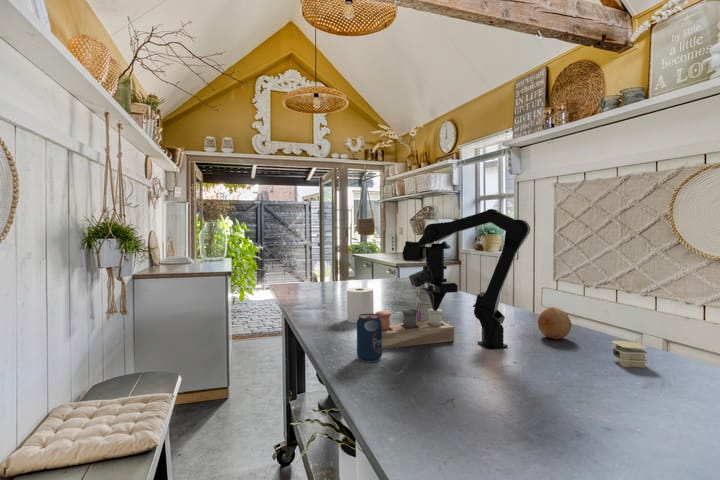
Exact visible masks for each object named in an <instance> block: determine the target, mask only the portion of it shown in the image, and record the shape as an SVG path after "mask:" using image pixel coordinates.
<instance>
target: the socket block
mask: <svg viewBox="0 0 720 480" xmlns="http://www.w3.org/2000/svg"><path fill="white" fill-rule="evenodd" d="M454 341H455V326H453V325H451V324H449V323H448V322H445V321H443V320H441V326H430V325H429V320H427V321H417V320H416V328H411V329H405V328H403V322H397V323H395V322H394V323H390V331H382V350H383V349H389V348H391V349H392V348H400V347H410V346H417V345H419V346H420V345H427V344H437V343H447V342H454Z"/></svg>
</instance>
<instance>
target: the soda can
mask: <svg viewBox="0 0 720 480" xmlns="http://www.w3.org/2000/svg"><path fill="white" fill-rule="evenodd" d="M379 317H380V316H379V315H378V314H375V313H373V314H361V315H359V318H358V320H357V323H356V356H357V358H359V360H360V361H361V362H363V363H365V362H366V363H374V362H378V361H380V359H381V357H382V356H383V349H382V322H381V320H380V318H379Z"/></svg>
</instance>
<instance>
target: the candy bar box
mask: <svg viewBox="0 0 720 480" xmlns="http://www.w3.org/2000/svg"><path fill="white" fill-rule="evenodd" d="M423 288H425V284H422V285H421V286H419V287H415V303H416V305H415V306H416V309H415V310H417V314H416V321H427V320H429V313H428V309H433V308H432V304H431V301H430V298H429V295H428V293H427V292H426V291H425V290H423Z"/></svg>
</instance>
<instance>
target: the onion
mask: <svg viewBox="0 0 720 480" xmlns="http://www.w3.org/2000/svg"><path fill="white" fill-rule="evenodd" d="M572 325H573V324H572V321H571V318H570V317H569V315H568V314H567V313H566V312H565V311H564V310H562V309H560V308H558V307H555V306H552V307H548V308H546V309H544V310H543V311H541V313H540V314H539V315H538V319H537V326H538V329H539V331H540V332H541V334H542V335H543V336H544V337H546V338H549V339H554V340H560V339H563V338H565V337H567V336H568V335H569V334H570V333H571V332H570V331H571V329H572Z"/></svg>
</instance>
